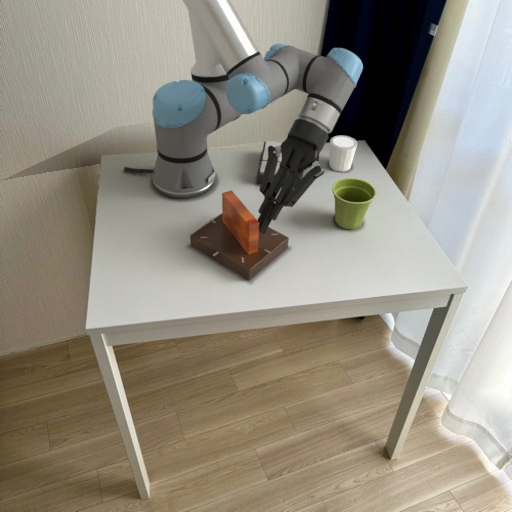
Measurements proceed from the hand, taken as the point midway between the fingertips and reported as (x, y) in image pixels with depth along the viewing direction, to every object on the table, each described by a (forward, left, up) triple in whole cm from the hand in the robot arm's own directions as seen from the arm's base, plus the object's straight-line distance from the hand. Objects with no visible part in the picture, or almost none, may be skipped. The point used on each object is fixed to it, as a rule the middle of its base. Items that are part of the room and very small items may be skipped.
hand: (258, 231), depth 105 cm
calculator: (-15, +29, -6) cm, 33 cm away
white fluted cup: (-5, +41, -6) cm, 42 cm away
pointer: (-4, -1, -3) cm, 5 cm away
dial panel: (-4, -1, -6) cm, 7 cm away
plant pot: (+9, +22, -6) cm, 24 cm away
